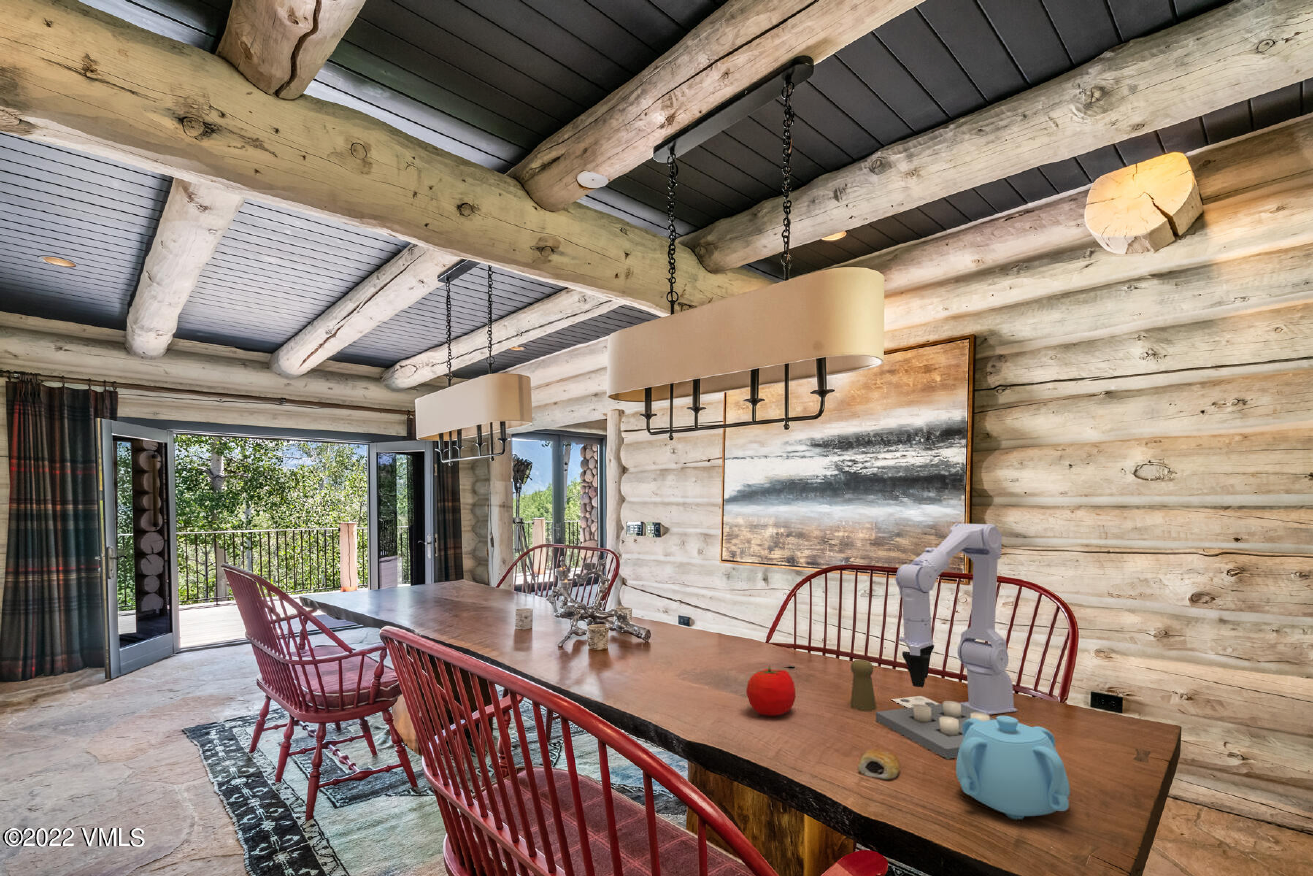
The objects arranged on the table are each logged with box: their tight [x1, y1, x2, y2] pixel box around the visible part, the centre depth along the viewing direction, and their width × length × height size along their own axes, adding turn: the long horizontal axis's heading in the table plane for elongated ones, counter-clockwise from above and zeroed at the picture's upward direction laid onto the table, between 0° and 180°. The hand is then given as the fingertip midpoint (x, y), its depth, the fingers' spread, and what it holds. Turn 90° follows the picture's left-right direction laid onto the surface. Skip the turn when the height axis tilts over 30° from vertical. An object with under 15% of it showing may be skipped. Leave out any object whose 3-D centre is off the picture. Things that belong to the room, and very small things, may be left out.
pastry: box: [857, 748, 901, 781], centre depth 115 cm, size 9×7×4 cm
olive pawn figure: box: [850, 659, 877, 712], centre depth 149 cm, size 6×6×11 cm
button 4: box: [939, 716, 959, 737], centre depth 127 cm, size 4×4×3 cm
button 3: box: [913, 704, 932, 723], centre depth 135 cm, size 4×4×3 cm
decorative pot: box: [955, 715, 1071, 820], centre depth 102 cm, size 16×16×14 cm
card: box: [890, 695, 940, 708], centre depth 151 cm, size 9×8×1 cm
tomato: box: [745, 665, 796, 717], centre depth 146 cm, size 11×13×10 cm
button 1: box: [942, 700, 962, 719], centre depth 137 cm, size 4×4×3 cm
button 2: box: [970, 712, 991, 721], centre depth 130 cm, size 4×4×3 cm
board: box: [875, 703, 996, 760], centre depth 132 cm, size 22×22×2 cm
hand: (920, 681), depth 136 cm, fingers open, 7 cm apart
